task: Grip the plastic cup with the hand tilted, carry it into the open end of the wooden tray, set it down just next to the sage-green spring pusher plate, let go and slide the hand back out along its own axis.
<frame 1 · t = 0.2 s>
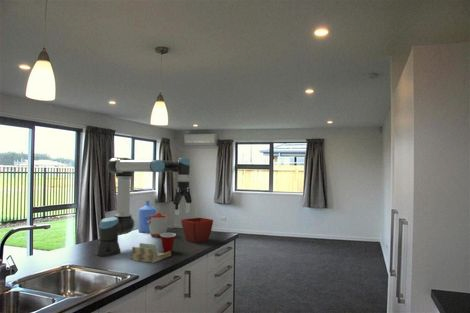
hand: (182, 213, 226), 28 cm above the worktop, tool pointing down, fingers open, 13 cm apart
citrus juicer: (157, 236, 296), on the worktop
plastic cup: (167, 251, 238), on the worktop
plant pot: (196, 241, 276), on the worktop
pusher: (148, 250, 219), point 5 cm above the worktop, slide at 0.0 cm
water jug: (147, 231, 317), on the worktop
wooden tray: (151, 257, 221), on the worktop
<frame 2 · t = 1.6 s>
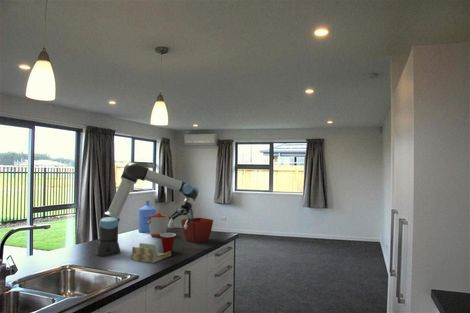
hand: (176, 227, 248), 15 cm above the worktop, tool tilted 45°, fingers open, 13 cm apart
nothing on the worktop moved.
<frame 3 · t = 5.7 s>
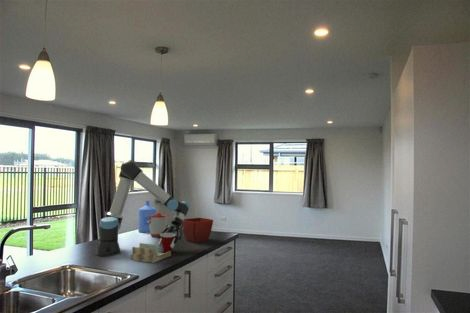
hand: (165, 246, 235), 4 cm above the worktop, tool tilted 45°, fingers closed on plastic cup, 9 cm apart
plastic cup: (167, 251, 238), on the worktop, touching gripper
everything else where it was.
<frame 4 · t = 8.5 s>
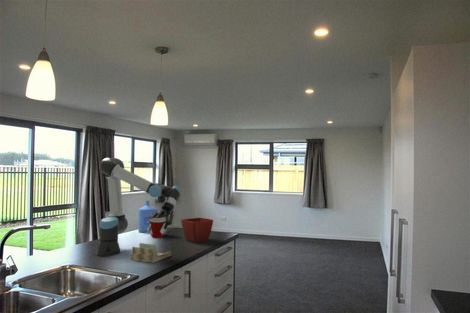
hand: (154, 232, 222), 16 cm above the worktop, tool tilted 45°, fingers closed on plastic cup, 9 cm apart
plastic cup: (157, 237, 225), point 12 cm above the worktop, touching gripper
everything else where it was.
when the fingers open (6 cm above the worktop, at t = 11.6 s): plastic cup moves 3 cm, resting on wooden tray.
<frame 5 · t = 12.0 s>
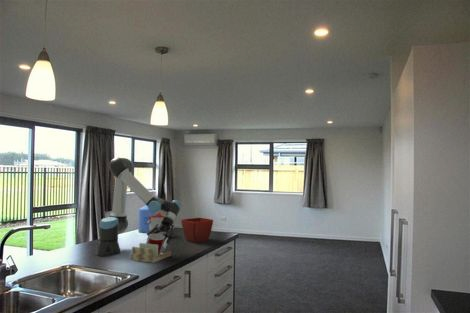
hand: (155, 246, 222), 7 cm above the worktop, tool tilted 45°, fingers open, 13 cm apart
plastic cup: (154, 254, 227), point 1 cm above the worktop, touching gripper, wooden tray
everything else where it was.
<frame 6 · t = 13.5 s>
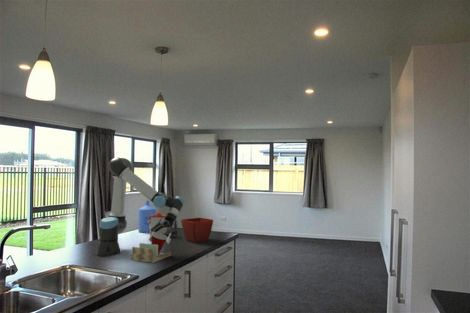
hand: (158, 241, 225), 10 cm above the worktop, tool tilted 45°, fingers open, 13 cm apart
plastic cup: (154, 253, 227), point 1 cm above the worktop, touching wooden tray
everything else where it was.
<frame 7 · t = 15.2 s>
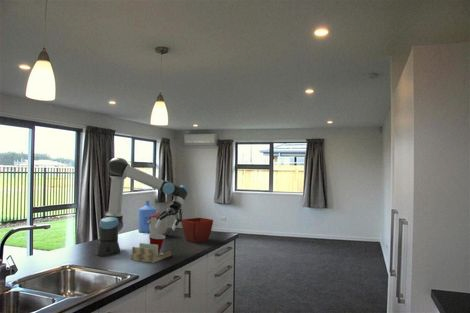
hand: (164, 228, 232), 17 cm above the worktop, tool tilted 45°, fingers open, 13 cm apart
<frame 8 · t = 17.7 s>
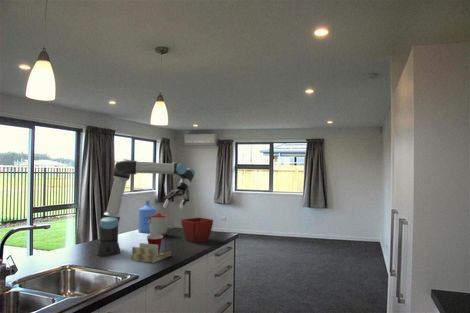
hand: (172, 207, 244), 30 cm above the worktop, tool tilted 45°, fingers open, 13 cm apart
at the end: plastic cup inside the target area on the wooden tray (2.2 cm from its centre), point 0.6 cm above the wooden tray's base; plastic cup tilted 0°; the gripper is holding nothing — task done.
